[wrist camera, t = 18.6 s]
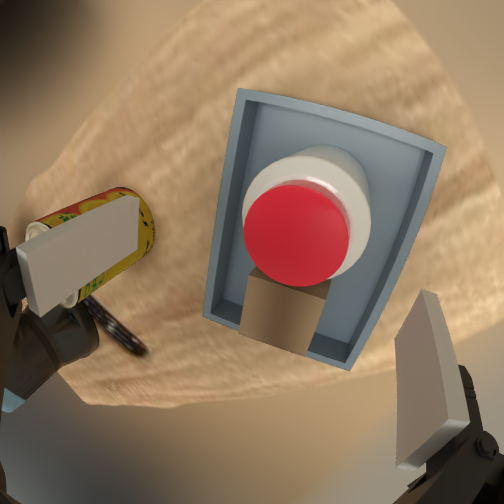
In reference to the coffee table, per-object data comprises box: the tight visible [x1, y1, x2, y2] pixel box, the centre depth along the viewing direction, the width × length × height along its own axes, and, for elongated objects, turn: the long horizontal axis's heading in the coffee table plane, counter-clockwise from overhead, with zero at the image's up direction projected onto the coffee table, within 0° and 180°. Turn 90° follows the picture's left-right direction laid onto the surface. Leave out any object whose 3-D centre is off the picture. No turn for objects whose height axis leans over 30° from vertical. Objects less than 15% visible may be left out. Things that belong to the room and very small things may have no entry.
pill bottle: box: [242, 145, 371, 287], centre depth 20 cm, size 8×8×11 cm
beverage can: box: [25, 187, 155, 308], centre depth 30 cm, size 9×9×12 cm
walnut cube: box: [238, 266, 332, 357], centre depth 27 cm, size 6×6×6 cm
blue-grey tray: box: [202, 88, 446, 371], centre depth 26 cm, size 16×22×4 cm
